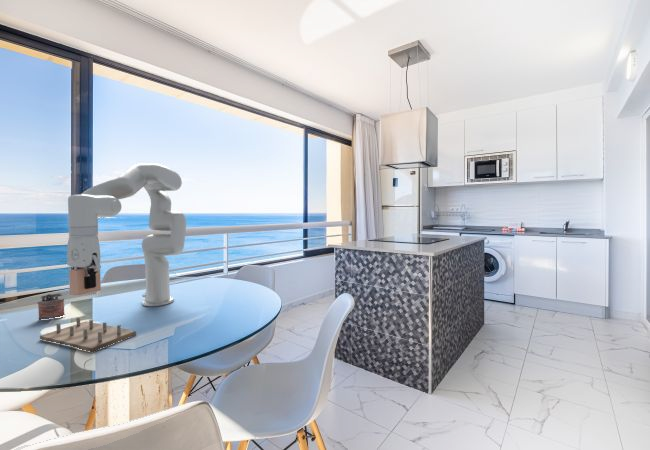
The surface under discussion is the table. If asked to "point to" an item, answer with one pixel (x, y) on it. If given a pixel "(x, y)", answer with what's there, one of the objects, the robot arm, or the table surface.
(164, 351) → the table surface
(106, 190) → the robot arm
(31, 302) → the table surface
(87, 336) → the rack
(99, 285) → the salmon pink block
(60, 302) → the lighter
